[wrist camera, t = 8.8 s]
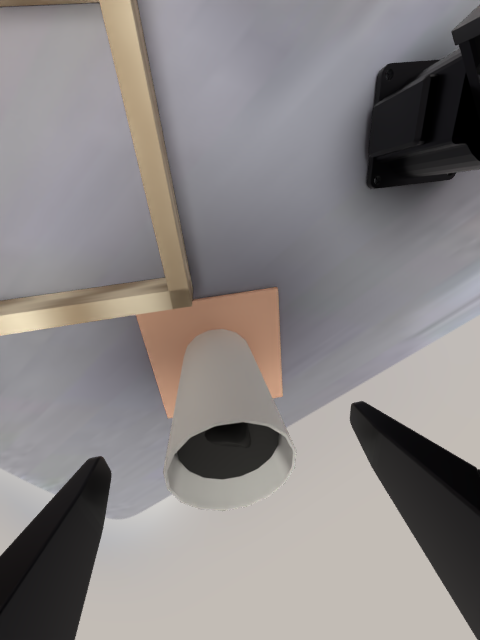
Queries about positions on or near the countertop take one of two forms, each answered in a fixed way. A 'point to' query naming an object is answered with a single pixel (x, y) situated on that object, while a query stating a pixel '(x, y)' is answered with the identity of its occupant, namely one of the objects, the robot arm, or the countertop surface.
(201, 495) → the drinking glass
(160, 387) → the terracotta mat
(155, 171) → the beige angled bar
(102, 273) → the countertop surface
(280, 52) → the countertop surface
